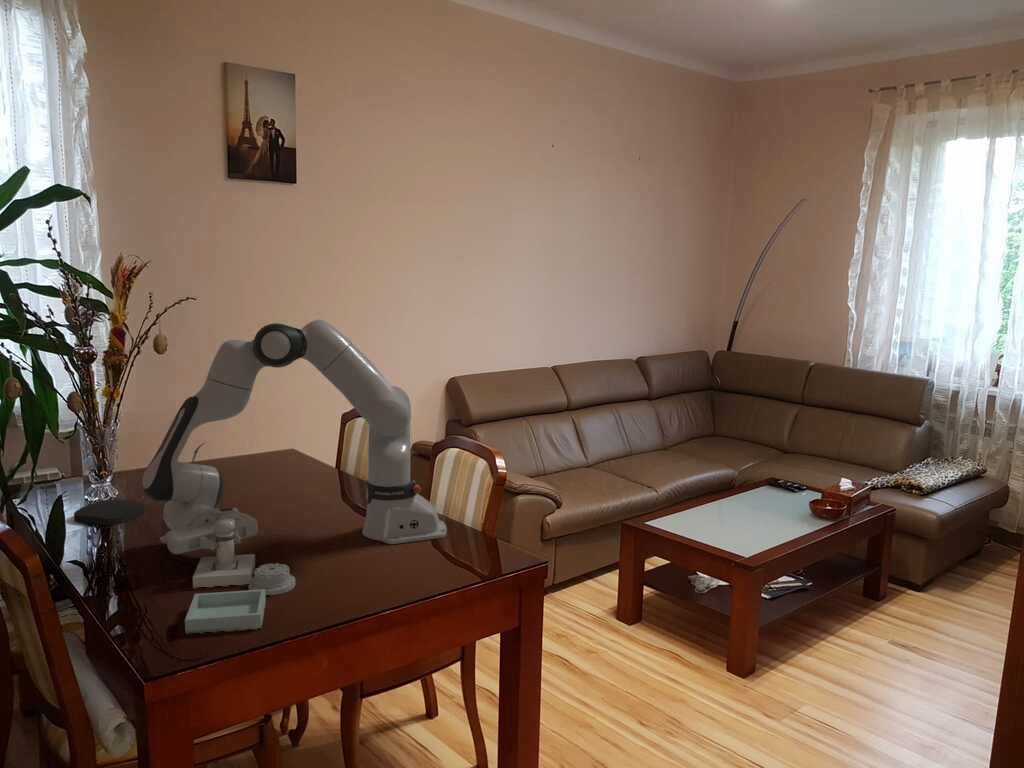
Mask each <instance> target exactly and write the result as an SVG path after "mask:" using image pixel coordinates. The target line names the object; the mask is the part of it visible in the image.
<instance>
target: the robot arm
mask: <svg viewBox="0 0 1024 768" xmlns="http://www.w3.org/2000/svg"><path fill="white" fill-rule="evenodd" d="M300 359H304V360H306V361H308V362H309V363H310V364H311V365H312V366H313V367H315V368H316V370H318V371H319V372H320V373H321V374H322V375H323V376H324V378H326V379H327V380H328V381H329V382H330V383H331V384H332V385H333V386H334V387H335V388H336V389H337V390H338V391H339V392H340V393H341V394H342V395H343V396H344V398H345V399H346V400H347V401H348V402H349V403H350V405H351V406H352V407H353V408H354V409H355V411H356V412H357V413H358V414H359V415H360V416H361V417H362V418H363V419H364V421H366V423H367V424H368V452H367V453H368V457H367V458H368V460H367V461H368V463H367V464H368V465H367V466H368V478H367V479H368V480H367V481H366V487H365V488H366V489H365V491H366V492H365V493H366V495H365V496H366V498H365V499H366V503H367V507H366V513H365V519H364V525H363V528H362V531H361V532H362V535H363V536H364V537H366V538H368V539H371V540H375V541H380V542H383V543H385V544H387V545H388V544H389V545H396V544H403V543H410V542H419V541H426V540H433V539H442V538H444V537H445V536H446V535H447V533H448V531H447V525H446V524H445V522H444V521H443V520H441V519H440V518H439V513H438V511H437V508H436V507H435V506H434V504H433V503H432V502H430V501H429V500H428V499H426V498H424V497H423V496H422V495H420V493H421V491H422V488H421V485H419V484H418V483H417V482H416V480H415V479H411V418H412V409H411V408H412V407H411V400H410V398H409V396H408V394H407V393H406V392H405V390H404V389H402V388H401V387H398V386H397V385H396V386H395V385H392V384H391V383H390V382H389V381H388V380H387V379H386V377H384V375H383V374H382V372H381V371H380V370H379V369H378V368H377V367H376V366H375V364H374V363H373V362H372V361H371V360H370V359H369V358H368V357H367V356H366V355H365V354H364V352H362V351H361V350H360V349H359V348H358V347H357V346H356V345H355V344H354V343H353V342H352V341H351V340H350V339H349V338H347V337H346V336H345V335H344V334H343V333H342V332H341V331H340V330H338V329H337V328H336V327H334V326H333V325H331V324H330V323H328V322H327V321H326V320H322V319H316V320H312V321H310V322H309V323H307V324H306V325H304V326H303V327H302V328H297V327H293V326H290V325H286V324H283V323H278V322H277V323H269V324H266V325H264V326H263V327H260V329H259V330H258V331H257V332H256V334H255V336H254V338H253V339H252V340H251V341H245V340H240V339H230V340H226V341H225V342H223V343H222V344H221V345H220V347H219V348H218V350H217V352H216V354H215V356H214V358H213V361H212V362H211V366H210V367H209V370H208V372H207V376H206V379H205V382H204V384H203V385H202V387H201V388H200V390H198V392H197V393H196V394H194V395H193V396H189V397H187V399H185V400H184V402H183V403H182V404H181V406H180V407H179V409H178V411H177V413H176V415H175V417H174V419H173V420H172V422H171V424H170V426H169V428H168V430H167V432H166V434H165V435H164V437H163V439H162V442H161V444H160V446H159V447H158V449H157V452H156V453H155V455H154V457H153V458H152V460H151V461H150V463H149V464H148V465H147V467H146V469H145V471H144V473H143V475H142V479H141V488H142V490H143V491H144V493H145V494H146V496H147V497H148V498H149V499H151V500H152V501H153V502H166V503H165V505H164V506H163V510H162V515H163V520H164V522H165V524H166V526H167V527H168V528H169V529H170V530H169V531H167V532H166V533H165V534H164V535H163V536H160V538H159V540H160V542H161V543H163V544H166V547H167V550H168V551H169V552H170V553H172V555H181V554H185V553H189V552H193V551H197V550H201V549H202V550H203V549H210V550H211V551H214V550H217V549H219V546H218V545H219V543H218V541H217V540H216V532H215V531H214V522H215V521H216V520H219V519H224V518H230V519H234V520H235V530H234V546H235V545H239V544H241V543H242V541H241V540H244V539H247V538H252V537H255V536H257V534H258V532H259V526H258V521H257V520H256V519H255V518H254V517H253V516H251V515H248V514H247V513H244V512H240V511H239V509H238V508H237V507H226V508H225V507H224V508H218V507H219V504H220V503H221V500H222V499H223V496H224V490H225V482H224V479H223V476H222V474H221V472H220V470H219V469H218V468H217V467H215V466H211V465H205V464H199V463H193V464H191V463H192V462H191V463H190V462H183V461H179V460H178V459H179V458H180V456H181V454H182V451H183V450H184V447H185V445H186V444H187V442H188V439H189V438H190V437H191V435H192V433H193V431H194V430H195V429H197V428H198V427H200V426H202V425H204V424H207V423H211V422H212V423H213V422H218V421H224V420H228V419H231V418H234V417H236V416H238V415H239V414H241V412H243V411H244V410H245V409H246V407H247V405H248V403H249V400H250V398H251V395H252V390H253V387H254V384H255V380H256V378H257V376H258V374H259V372H260V371H261V369H263V368H265V367H271V368H283V367H284V368H285V367H287V366H289V365H291V364H292V363H294V362H295V361H297V360H300Z"/></svg>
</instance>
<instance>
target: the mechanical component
mask: <svg viewBox="0 0 1024 768" xmlns="http://www.w3.org/2000/svg"><path fill="white" fill-rule="evenodd" d="M295 586H296V577H295V576H294V575H293V574H291V573H290V566H288V565H287V564H285V563H283V564H282V563H279V562H276V563H269V562H268V563H266V564H263V565H259V567H257V568H254V571H253V577H252V579H251V580H250V581H249V585H248V590H261V589H265V592H266V595H270V596H276V595H282V594H286V593H287V592H290V591H292V590H293V589H294V588H295Z"/></svg>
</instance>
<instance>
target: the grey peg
mask: <svg viewBox="0 0 1024 768" xmlns="http://www.w3.org/2000/svg"><path fill="white" fill-rule="evenodd" d="M234 530H235V520H234V519H230V518H224V519H219V520H216V521H215V522H214V531H215V532H216V540H217V541H218V543H219V545H218V546H219V549H216V556H217V563H216V571H218V570H234V569H236V561H235V555H236V554H235V545H234Z"/></svg>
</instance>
